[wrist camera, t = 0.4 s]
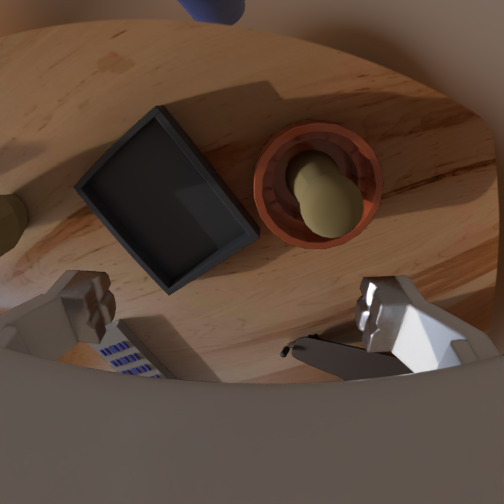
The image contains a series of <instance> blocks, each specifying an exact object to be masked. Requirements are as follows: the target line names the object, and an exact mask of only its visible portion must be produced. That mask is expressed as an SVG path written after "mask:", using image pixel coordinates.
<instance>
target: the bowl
mask: <svg viewBox="0 0 504 504" xmlns="http://www.w3.org/2000/svg"><path fill="white" fill-rule="evenodd" d="M309 150H317V151H322V152H324V153H326V154H328V155H329V156H331V157H332V159H333V160H334V161H335V162H336V164H337V166H338V168H339V170H340V172H341V174H342V176H344V177H346V178H348V179H349V180H351V181H352V182H353V183H354V184H355V185H356V186H357V187H358V189H359V190H360V192H361V195H362V198H363V204H364V211H363V214H362V218H361V220H360V222H359V223H358V225H357V226H356V227H355V228H354V229H353V230H352V231H351V232H350V233H348V234H346V235H343V236H341V237H335V238H328V237H322V236H320V235H318V234H316V233H314V232H313V231H312V230H311V229H310V228H309V227H308V226H307V225H306V224H305V222H304V219H303V217H302V215H301V209H300V203H299V202H298V201H297V200H296V199H295V197H294V196H293V195H292V194H291V193H290V192H289V190H288V188H287V186H286V180H285V174H286V169H287V167H288V165H289V163H290V161H291V160H292V159H293V158H294V157H295V156H296V155H298V154H300V153H302V152H304V151H309ZM382 191H383V178H382V172H381V166H380V163H379V161H378V159H377V157H376V155H375V153H374V152H373V150H372V148H371V147H370V146H369V145H368V144H367V143H366V142H365V141H364V140H363V139H362V138H361V137H360V136H359V135H358V134H357V133H355V132H353V131H351V130H349V129H346V128H344V127H342V126H339V125H337V124H334V123H331V122H328V121H325V120H312V119H305V120H301V121H297V122H293V123H290V124H287V125H286V126H284V127H283V128H281V129H280V130H278V131H277V132H275V133H273V135H271V136H270V138H269V139H268V140H267V141H266V143H265V144H264V145H263V147H262V148H261V149H260V152H259V155H258V158H257V160H256V163H255V166H254V200H255V203H256V206H257V209H258V212H259V215H260V217H261V218H262V220H263V221H264V222H265V224H266V225H267V226H268V228H269V229H270V231H271V232H272V233H274V234H275V235H277V236H278V237H279V238H281V239H282V240H284V241H285V242H286V243H289V244H292V245H295V246H298V247H301V248H304V249H327V248H331V247H335V246H338V245H342V244H344V243H346V242H347V241H349V240H351V239H352V238H354V237H356V236H357V235H359V234H360V233H361V232H362V231H363V230H364V229H365V227H366V226H367V225H368V224H369V223H370V222H371V221H372V220H373V218H374V216H375V214H376V211H377V209H378V207H379V205H380V203H381V197H382Z"/></svg>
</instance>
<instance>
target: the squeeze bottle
mask: <svg viewBox="0 0 504 504" xmlns="http://www.w3.org/2000/svg"><path fill="white" fill-rule="evenodd" d="M27 222H28V215H27V210H26V208H25V205H24V204H23V202H22V201H21V199H20V198H18V197H17V196H15V195H10V194H9V195H0V257H1V256H2V255H4V254H5V253H7V252H8V251H10V250H11V249H13V248H14V247H15V246H16V244H17V243H18V241H19V239H20V238H21V236H22V234H23V232H24V230H25V228H26V227H27Z"/></svg>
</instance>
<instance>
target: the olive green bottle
mask: <svg viewBox="0 0 504 504" xmlns="http://www.w3.org/2000/svg"><path fill="white" fill-rule="evenodd" d="M285 180H286V186H287V188H288V190H289V192H290V193H291V194H292V195H293V196H294V197H295V199H296V200H297V201H298V202H299V203H300V209H301V215H302V217H303V219H304V222H305V224H306V225H307V226H308V227H309V228H310V229H311V230H312V231H313V232H314V233H316V234H318V235H320V236H322V237H328V238H335V237H341V236H343V235H346V234H348V233H350V232H351V231H352V230H353V229H354V228H355V227H356V226H357V225H358V223H359V222H360V220H361V218H362V214H363V211H364V204H363V198H362V195H361V192H360V190H359V189H358V187H357V186H356V185H355V184H354V183H353V182H352V181H351V180H349V179H348V178H346V177H344V176H342V174H341V172H340V170H339V168H338V166H337V164H336V162H335V161H334V160H333V159H332V157H331V156H329V155H328V154H326V153H324V152H322V151H317V150H309V151H304V152H302V153H300V154H298V155H296V156H295V157H294V158H293V159H292V160H291V161H290V163H289V165H288V167H287V169H286V174H285Z"/></svg>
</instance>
